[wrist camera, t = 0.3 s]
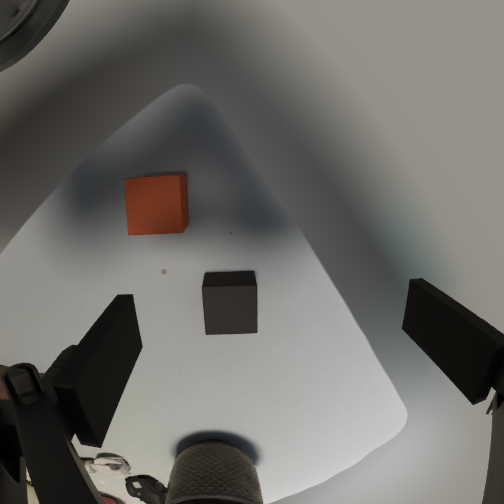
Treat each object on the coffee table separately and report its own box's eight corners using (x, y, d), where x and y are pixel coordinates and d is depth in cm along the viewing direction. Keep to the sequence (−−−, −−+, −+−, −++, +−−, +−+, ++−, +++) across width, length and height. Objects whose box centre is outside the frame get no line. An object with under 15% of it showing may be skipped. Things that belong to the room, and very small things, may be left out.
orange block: (137, 177, 32) (124, 179, 28) (186, 173, 32) (179, 174, 28) (140, 226, 34) (128, 235, 29) (188, 224, 34) (182, 233, 30)
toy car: (148, 473, 45) (144, 490, 41) (194, 505, 49) (194, 521, 45) (121, 478, 45) (116, 494, 41) (167, 510, 49) (166, 525, 45)
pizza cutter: (56, 463, 45) (52, 472, 42) (41, 444, 44) (36, 454, 41) (135, 471, 45) (131, 483, 42) (120, 452, 43) (116, 465, 40)
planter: (156, 436, 42) (144, 500, 30) (237, 417, 42) (241, 487, 29) (197, 479, 46) (194, 535, 33) (269, 464, 45) (277, 523, 33)
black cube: (205, 272, 35) (201, 287, 31) (253, 270, 36) (257, 285, 31) (208, 316, 37) (205, 335, 33) (254, 314, 37) (257, 333, 33)
